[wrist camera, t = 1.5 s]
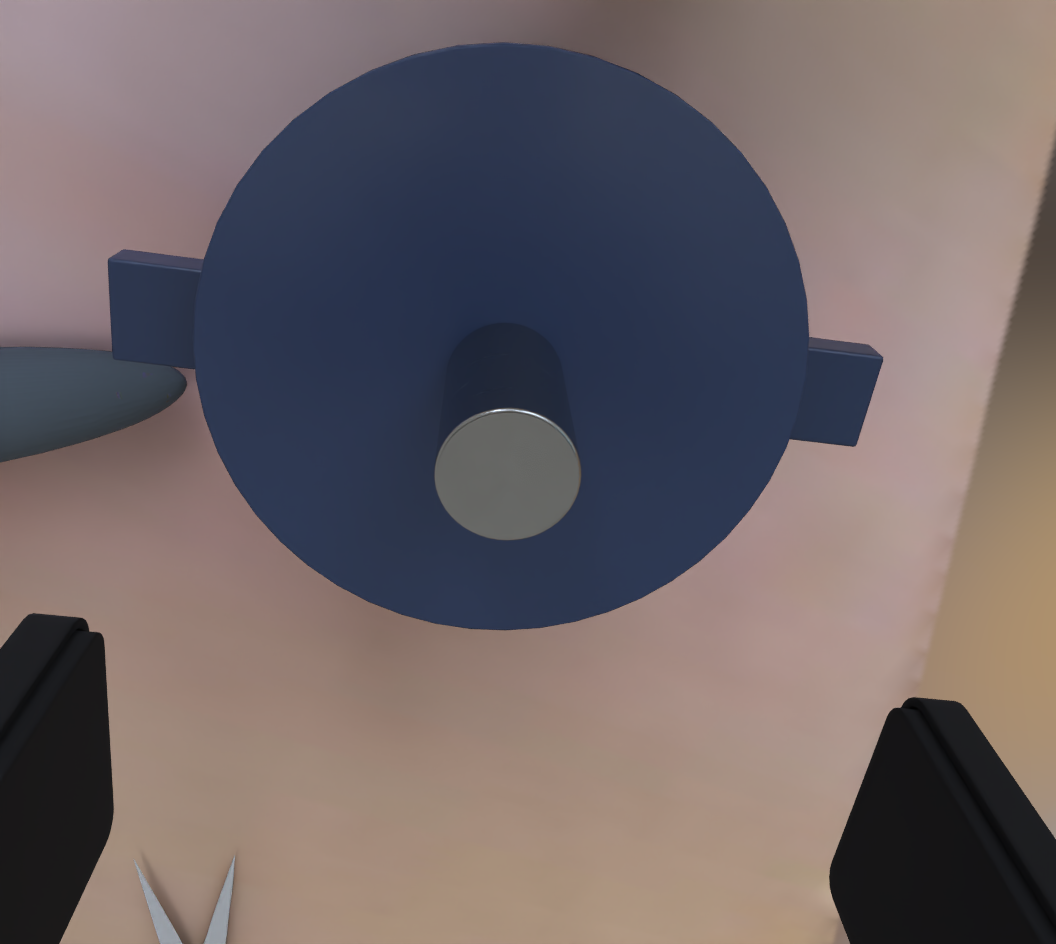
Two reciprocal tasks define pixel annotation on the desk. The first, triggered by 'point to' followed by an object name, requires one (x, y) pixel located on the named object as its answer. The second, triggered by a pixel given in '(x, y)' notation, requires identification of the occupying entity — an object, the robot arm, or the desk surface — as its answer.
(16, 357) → the grey microphone
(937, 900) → the robot arm
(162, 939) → the scissors
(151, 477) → the desk surface
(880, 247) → the desk surface
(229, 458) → the lid
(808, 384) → the pot
